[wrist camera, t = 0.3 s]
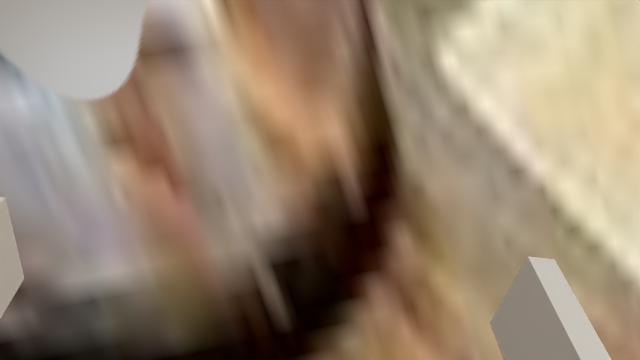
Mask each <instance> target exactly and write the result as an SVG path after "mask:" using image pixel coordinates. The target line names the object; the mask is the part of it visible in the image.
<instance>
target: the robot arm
mask: <svg viewBox="0 0 640 360" xmlns="http://www.w3.org/2000/svg"><path fill="white" fill-rule="evenodd" d="M23 280H24V275H23V271H22V266H21V262H20V258H19V253H18V249H17V245H16V241H15V236H14V232H13V228H12V223H11V219H10V215H9V210H8V206H7V202H6V197H0V318H1V317H2V315H3V313H4V312H5V310H6V308H7V307H8V305H9V303H10V302H11V300H12V298H13V297H14V295H15V293H16V292H17V290H18V288H19V287H20V285H21V283H22V282H23ZM490 324H491V327H492V329H493V332H494V335H495V337H496V340H497V343H498V345H499V348H500V351H501V354H502V356H503V359H504V360H611V358H610V356H609V355H608V353H607V351H606V349H605V348H604V346H603V344H602V342H601V341H600V339H599V337H598V335H597V334H596V332H595V330H594V328H593V326H592V325H591V323H590V321H589V319H588V318H587V316H586V314H585V312H584V311H583V309H582V307H581V305H580V304H579V302H578V300H577V298H576V297H575V295H574V293H573V291H572V290H571V288H570V286H569V284H568V282H567V281H566V279H565V277H564V275H563V274H562V272H561V270H560V268H559V267H558V265H557V263H556V261H555V260H554V259H545V258H536V257H527V259H526V261H525V262H524V264H523V266H522V268H521V269H520V271H519V273H518V275H517V276H516V278H515V280H514V282H513V283H512V285H511V287H510V289H509V290H508V292H507V294H506V296H505V297H504V299H503V301H502V303H501V304H500V306H499V308H498V310H497V311H496V313H495V315H494V317H493V318H492V320H491V322H490Z"/></svg>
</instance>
